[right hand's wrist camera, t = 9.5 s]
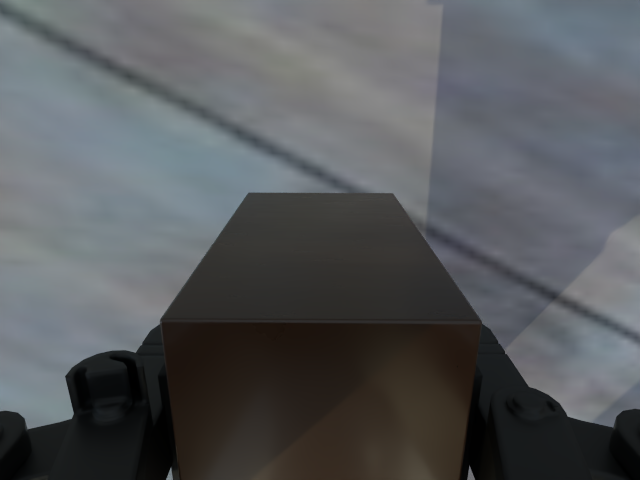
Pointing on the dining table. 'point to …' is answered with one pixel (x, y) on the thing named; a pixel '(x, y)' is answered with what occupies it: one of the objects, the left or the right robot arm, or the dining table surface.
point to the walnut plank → (320, 347)
